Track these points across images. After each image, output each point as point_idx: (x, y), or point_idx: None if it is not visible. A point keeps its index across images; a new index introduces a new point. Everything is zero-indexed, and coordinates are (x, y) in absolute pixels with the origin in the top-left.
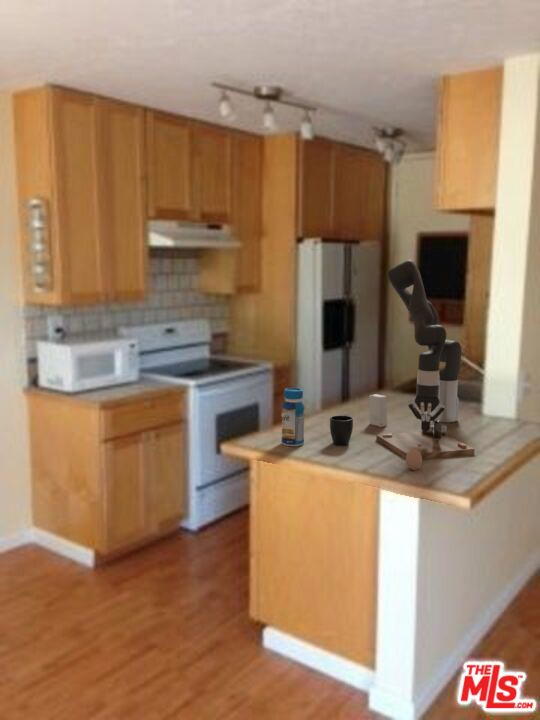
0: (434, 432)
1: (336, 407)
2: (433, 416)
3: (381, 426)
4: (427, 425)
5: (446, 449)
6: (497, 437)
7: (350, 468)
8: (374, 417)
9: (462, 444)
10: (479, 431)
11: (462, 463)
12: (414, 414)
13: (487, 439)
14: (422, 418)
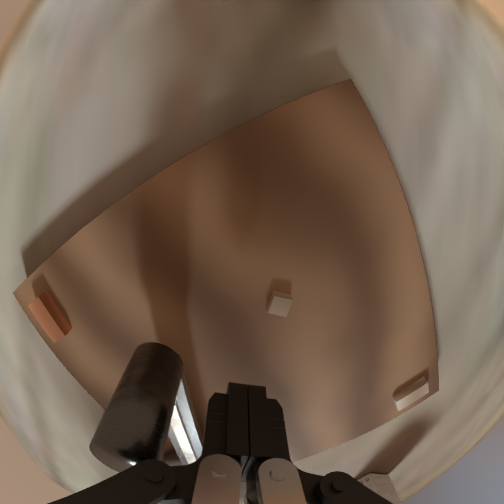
0: (169, 382)
1: (406, 499)
2: (148, 500)
3: (366, 475)
4: (226, 426)
5: (107, 252)
6: (50, 439)
7: (492, 29)
8: (388, 489)
9: (43, 317)
10: (102, 475)
11: (56, 122)
12: (380, 499)
13: (60, 431)
14: (288, 483)
